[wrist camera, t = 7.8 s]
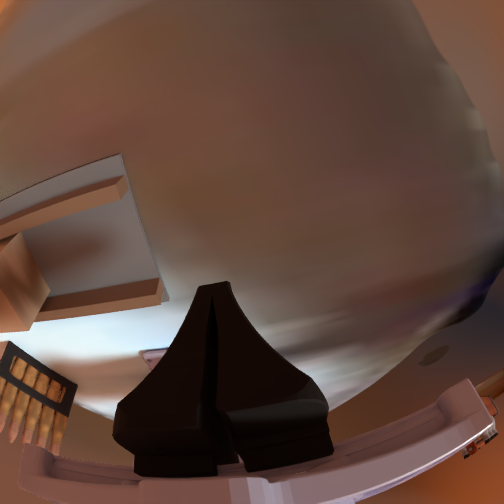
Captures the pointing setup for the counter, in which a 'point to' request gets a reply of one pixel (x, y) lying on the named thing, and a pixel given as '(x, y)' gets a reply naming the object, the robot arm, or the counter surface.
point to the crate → (19, 285)
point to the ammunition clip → (34, 398)
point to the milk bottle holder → (487, 434)
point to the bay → (86, 241)
